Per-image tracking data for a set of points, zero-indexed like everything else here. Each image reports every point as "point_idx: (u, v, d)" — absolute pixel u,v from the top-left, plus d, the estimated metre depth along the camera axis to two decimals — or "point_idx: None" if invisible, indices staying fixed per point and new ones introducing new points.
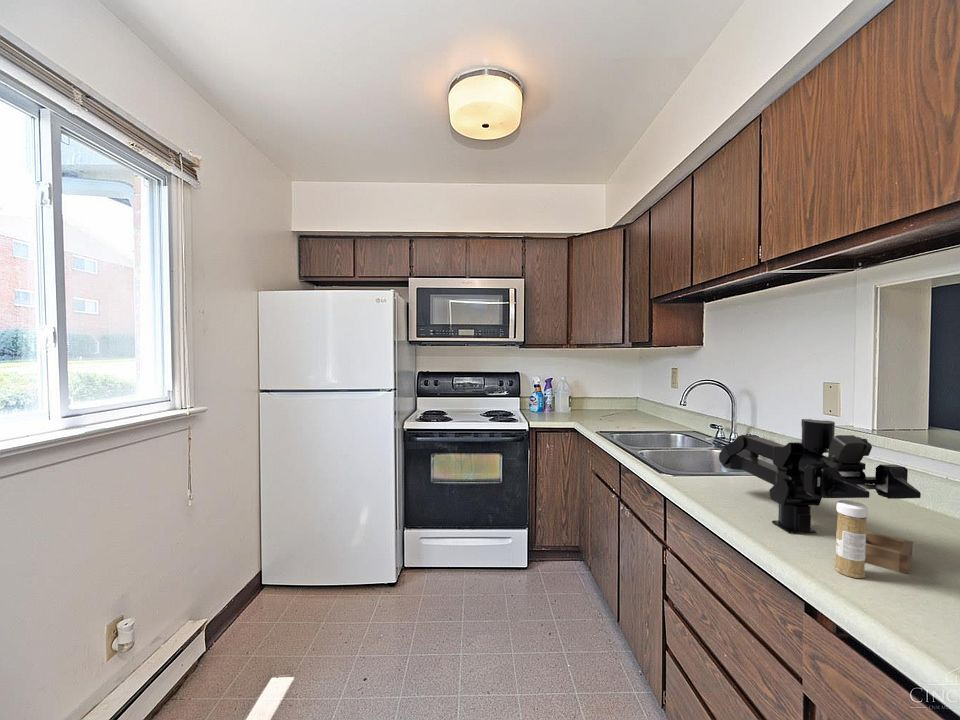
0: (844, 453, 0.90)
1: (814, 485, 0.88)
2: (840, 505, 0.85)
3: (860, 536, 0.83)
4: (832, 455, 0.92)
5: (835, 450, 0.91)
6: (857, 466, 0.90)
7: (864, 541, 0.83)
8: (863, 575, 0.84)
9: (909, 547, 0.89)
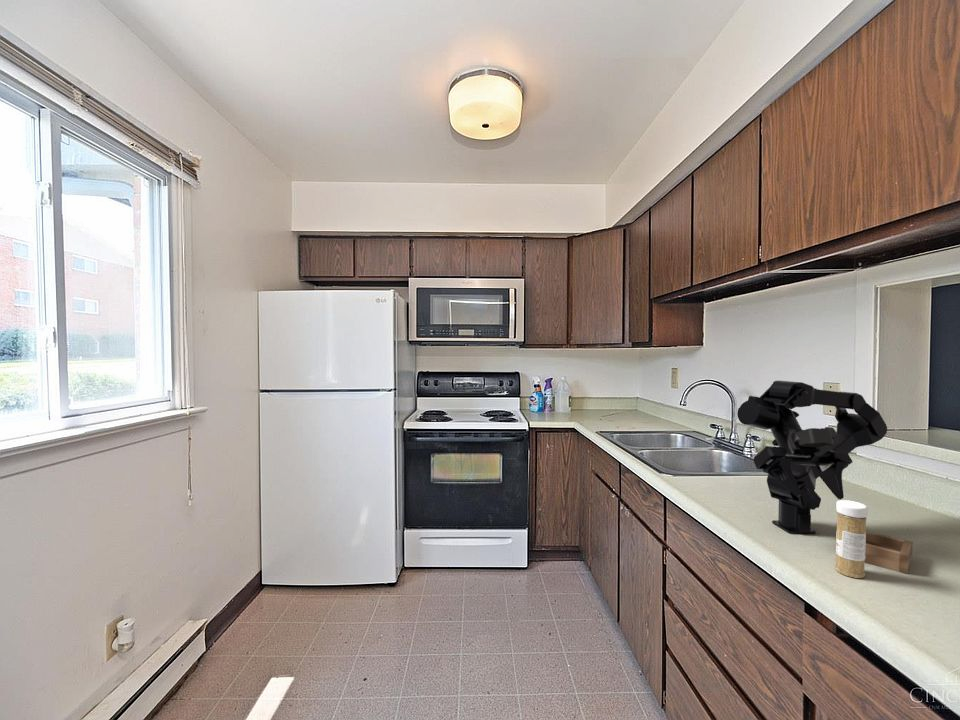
0: (808, 443, 0.95)
1: (763, 463, 0.97)
2: (840, 505, 0.85)
3: (860, 536, 0.83)
4: (797, 438, 0.96)
5: (803, 438, 0.95)
6: (812, 450, 0.97)
7: (864, 541, 0.83)
8: (863, 575, 0.84)
9: (909, 547, 0.89)
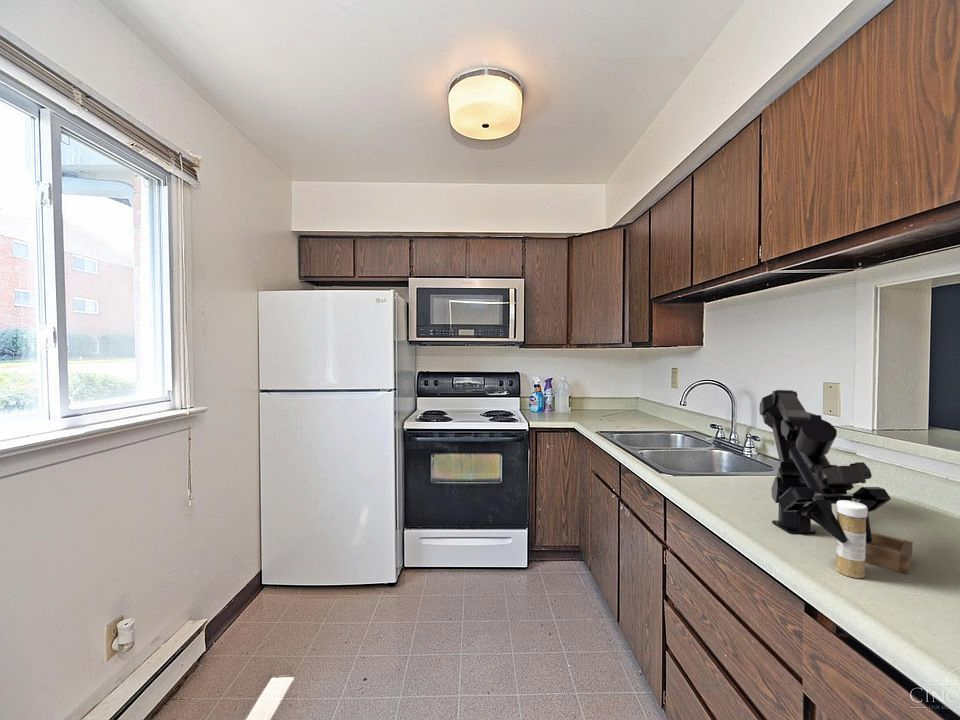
0: None
1: (789, 506, 0.89)
2: (840, 505, 0.85)
3: (860, 537, 0.83)
4: (825, 476, 0.88)
5: (831, 476, 0.87)
6: (843, 488, 0.89)
7: (864, 541, 0.83)
8: (863, 575, 0.84)
9: (909, 547, 0.89)
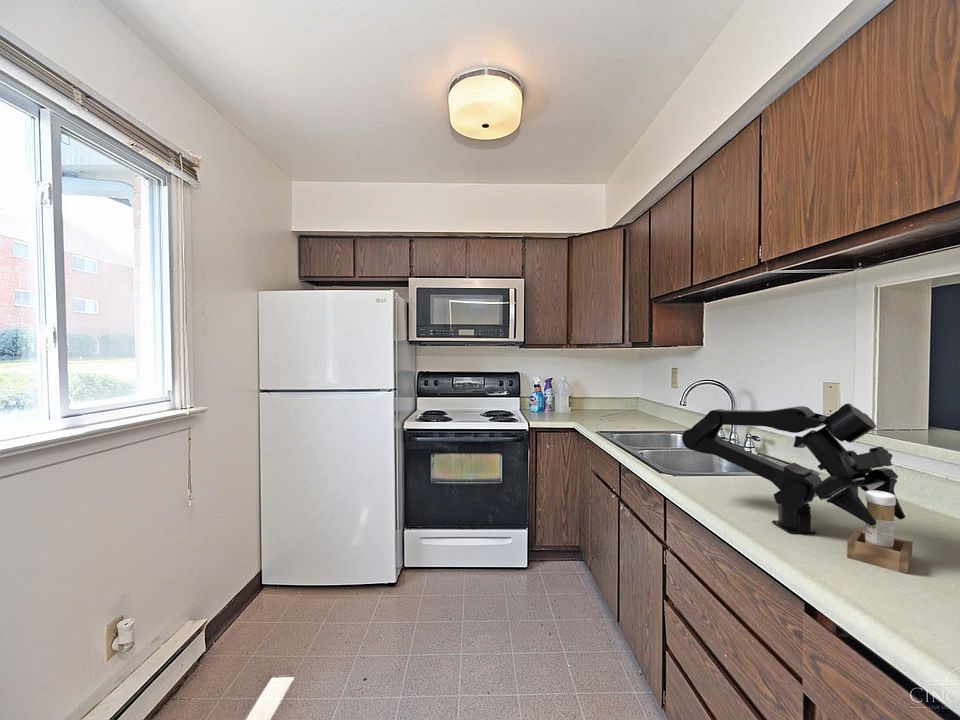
0: (868, 467, 0.92)
1: (829, 494, 0.92)
2: (874, 496, 0.90)
3: (892, 523, 0.89)
4: (855, 462, 0.93)
5: (862, 462, 0.92)
6: (866, 472, 0.95)
7: (893, 527, 0.90)
8: None
9: (909, 547, 0.89)
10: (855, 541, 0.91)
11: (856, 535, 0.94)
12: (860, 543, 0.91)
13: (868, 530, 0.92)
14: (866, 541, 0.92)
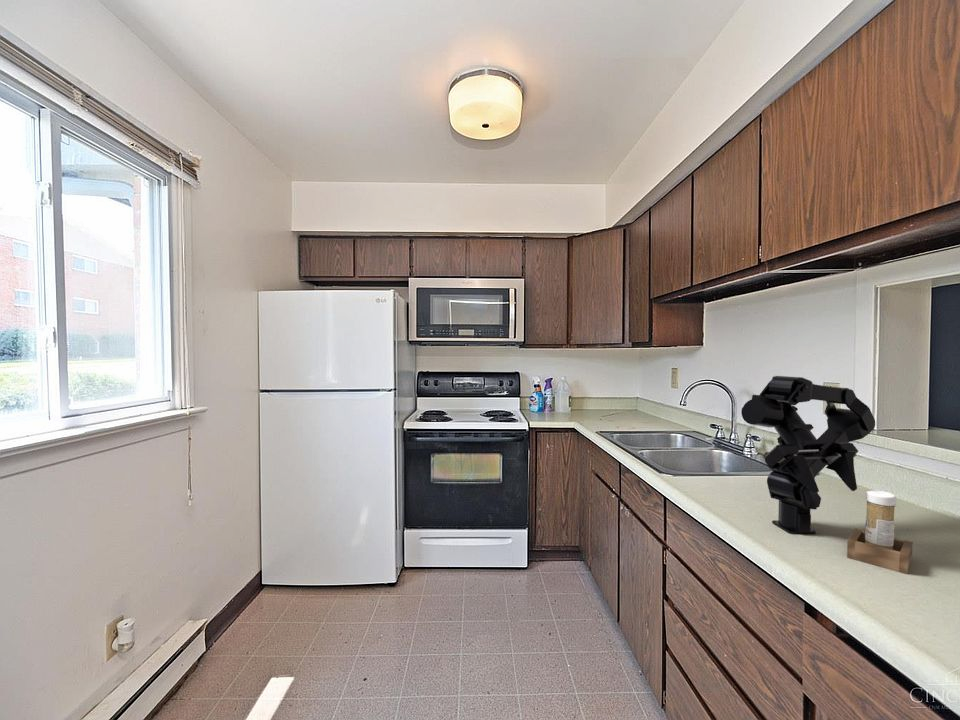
0: None
1: None
2: (874, 496, 0.90)
3: (892, 523, 0.89)
4: None
5: None
6: None
7: (893, 527, 0.90)
8: None
9: (909, 547, 0.89)
10: (855, 541, 0.91)
11: (856, 535, 0.94)
12: (860, 543, 0.91)
13: (868, 530, 0.92)
14: (866, 541, 0.92)
